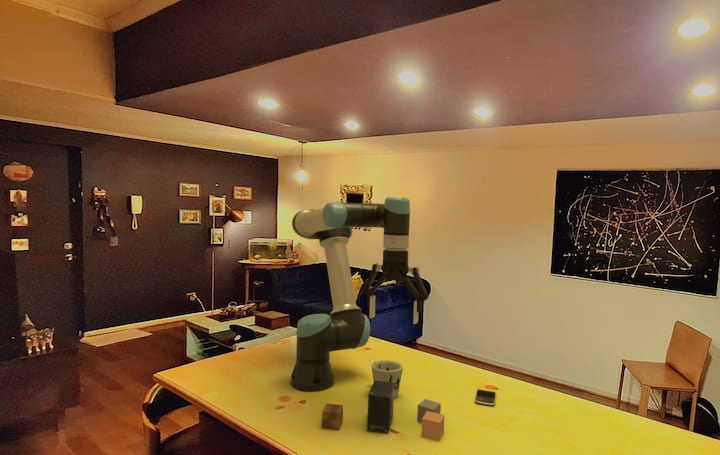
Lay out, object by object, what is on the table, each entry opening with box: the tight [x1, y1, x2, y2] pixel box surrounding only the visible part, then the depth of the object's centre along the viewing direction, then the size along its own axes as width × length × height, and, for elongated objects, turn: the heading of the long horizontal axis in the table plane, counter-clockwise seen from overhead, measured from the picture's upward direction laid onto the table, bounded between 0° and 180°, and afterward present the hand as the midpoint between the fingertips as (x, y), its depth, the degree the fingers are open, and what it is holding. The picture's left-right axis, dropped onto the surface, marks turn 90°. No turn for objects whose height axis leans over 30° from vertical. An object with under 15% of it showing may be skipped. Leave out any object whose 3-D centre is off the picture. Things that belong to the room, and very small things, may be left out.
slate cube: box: [416, 398, 442, 424], centre depth 125 cm, size 5×5×5 cm
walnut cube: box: [321, 402, 344, 431], centre depth 121 cm, size 5×5×5 cm
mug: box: [371, 359, 404, 399], centre depth 144 cm, size 10×15×10 cm
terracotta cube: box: [421, 411, 446, 442], centre depth 118 cm, size 5×5×5 cm
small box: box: [366, 380, 395, 434], centre depth 123 cm, size 11×6×10 cm, turn 168°
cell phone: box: [474, 388, 497, 408], centre depth 141 cm, size 6×11×1 cm, turn 160°
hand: (393, 320), depth 128 cm, fingers open, 13 cm apart
